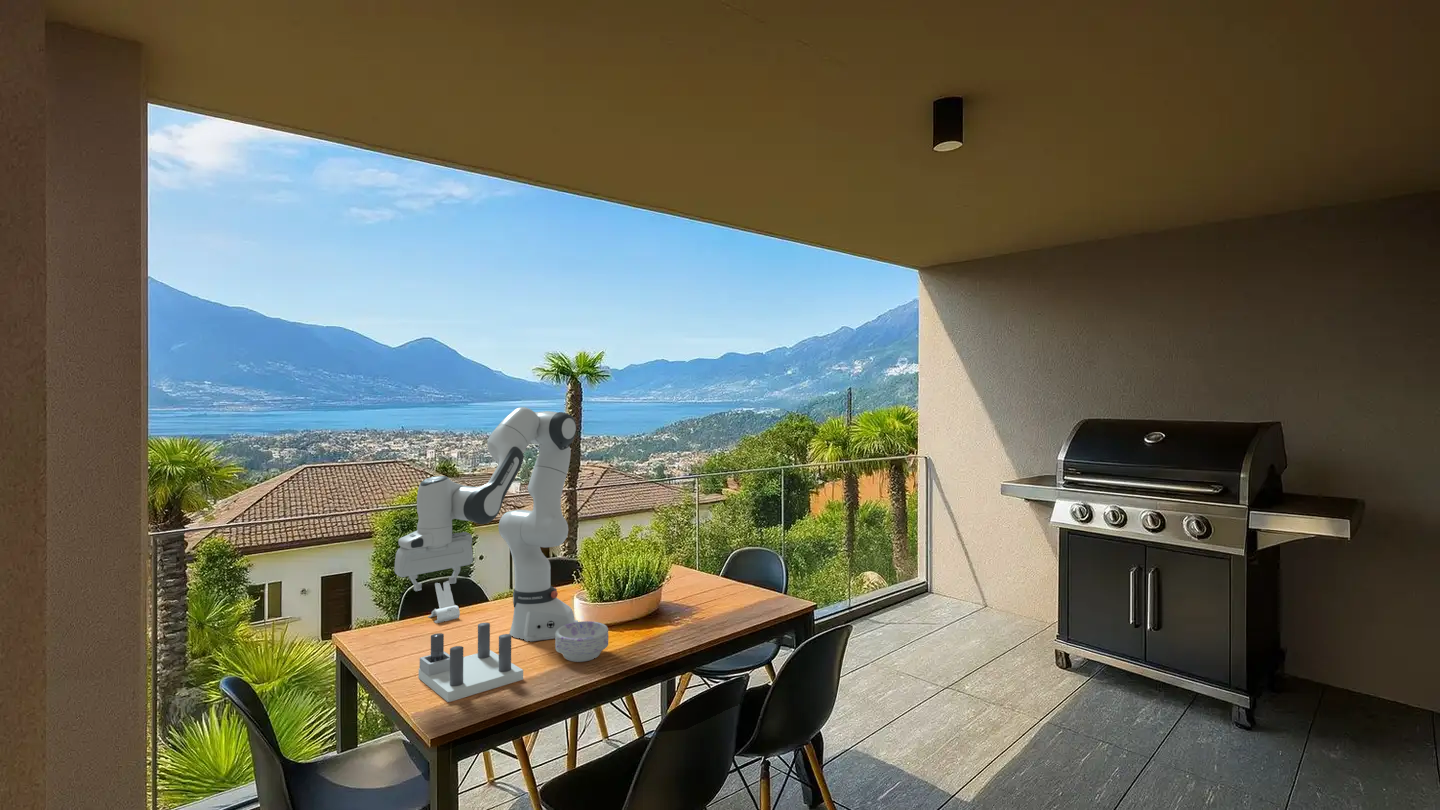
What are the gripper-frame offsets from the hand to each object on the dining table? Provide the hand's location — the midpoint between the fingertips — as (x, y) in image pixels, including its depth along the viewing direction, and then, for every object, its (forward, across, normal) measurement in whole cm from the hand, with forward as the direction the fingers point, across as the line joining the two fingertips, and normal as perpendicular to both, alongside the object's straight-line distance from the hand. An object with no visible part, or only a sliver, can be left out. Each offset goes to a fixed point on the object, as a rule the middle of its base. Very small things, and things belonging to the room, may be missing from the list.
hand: (435, 586), depth 181 cm
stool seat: (+24, -5, +11) cm, 26 cm away
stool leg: (+21, +2, +4) cm, 21 cm away
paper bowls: (+24, -35, +18) cm, 46 cm away
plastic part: (+24, -20, -45) cm, 55 cm away
